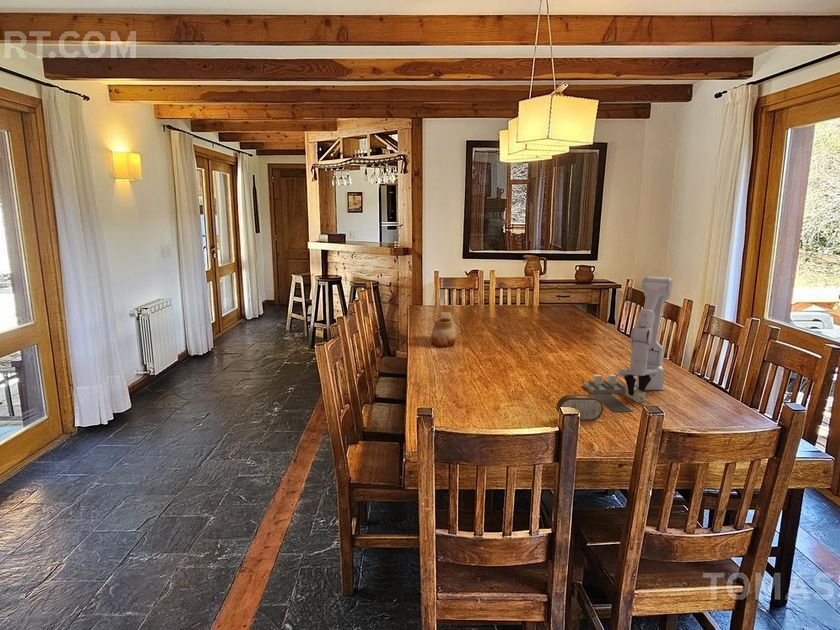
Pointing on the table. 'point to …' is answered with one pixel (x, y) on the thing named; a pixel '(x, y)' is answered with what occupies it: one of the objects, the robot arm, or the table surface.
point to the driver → (637, 395)
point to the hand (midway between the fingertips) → (635, 394)
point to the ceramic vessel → (444, 331)
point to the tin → (583, 405)
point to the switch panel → (604, 387)
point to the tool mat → (612, 403)
